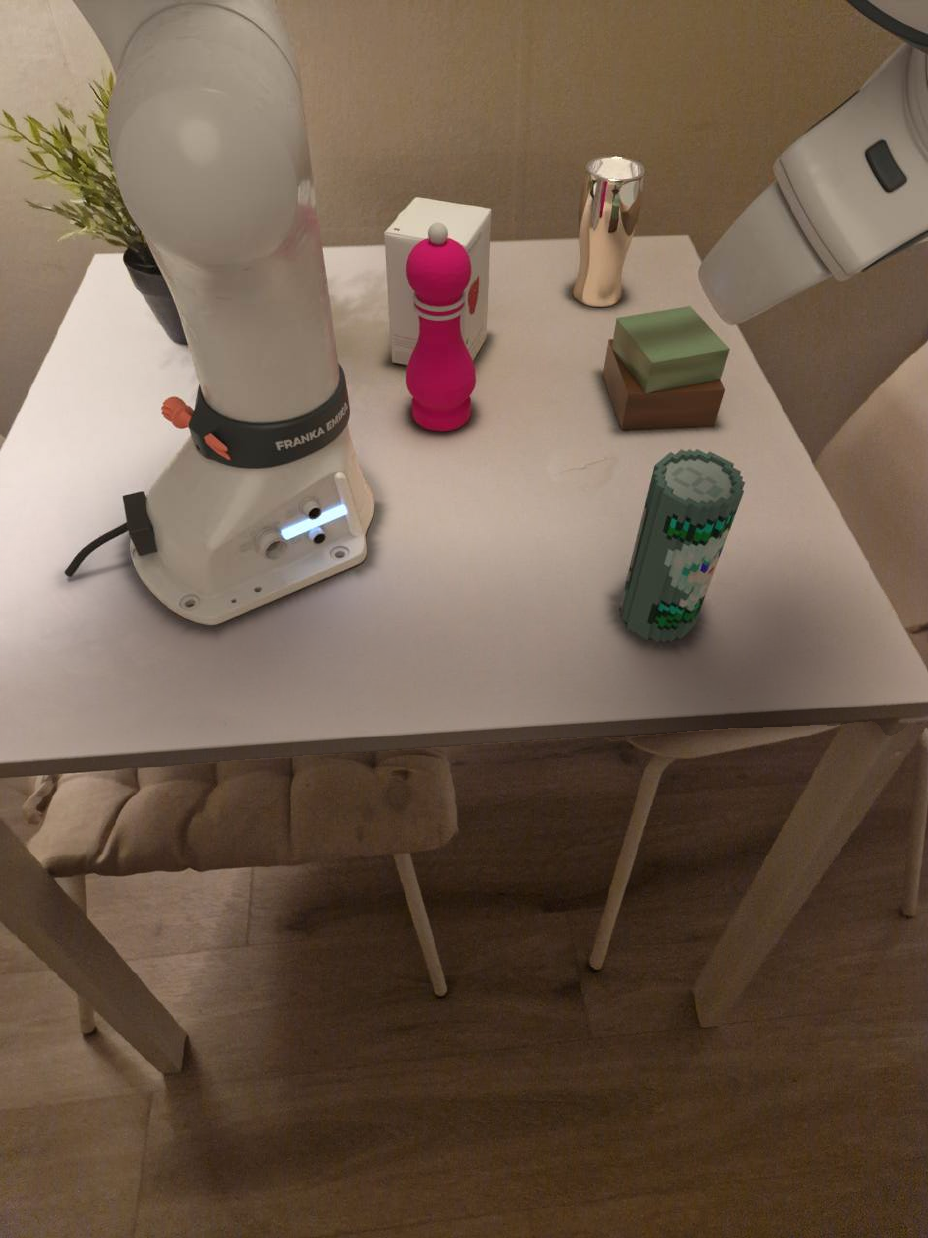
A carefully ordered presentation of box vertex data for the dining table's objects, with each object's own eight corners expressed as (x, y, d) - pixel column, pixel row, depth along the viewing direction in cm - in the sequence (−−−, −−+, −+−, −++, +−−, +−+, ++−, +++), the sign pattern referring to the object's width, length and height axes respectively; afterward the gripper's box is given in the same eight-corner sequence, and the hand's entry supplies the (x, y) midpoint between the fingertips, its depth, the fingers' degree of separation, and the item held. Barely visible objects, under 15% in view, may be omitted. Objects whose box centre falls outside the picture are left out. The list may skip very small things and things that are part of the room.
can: (667, 653, 65) (712, 520, 53) (607, 614, 67) (638, 478, 56) (707, 612, 68) (759, 476, 56) (648, 575, 70) (685, 438, 59)
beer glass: (571, 278, 103) (585, 153, 91) (624, 282, 102) (646, 157, 91) (567, 306, 99) (582, 178, 87) (624, 311, 98) (646, 182, 86)
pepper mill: (478, 395, 87) (482, 206, 71) (472, 437, 82) (475, 245, 67) (412, 391, 87) (402, 202, 72) (403, 432, 83) (390, 240, 67)
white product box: (464, 379, 89) (466, 246, 77) (390, 364, 91) (380, 231, 79) (489, 337, 94) (494, 206, 83) (418, 323, 96) (413, 193, 84)
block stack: (714, 425, 84) (735, 358, 78) (621, 430, 83) (634, 363, 77) (689, 370, 90) (706, 304, 84) (602, 374, 89) (613, 308, 83)
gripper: (1103, -51, 37) (900, 128, 51) (757, 164, 35) (643, 290, 48) (1167, 70, 37) (949, 215, 51) (830, 290, 35) (696, 379, 49)
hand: (798, 253), depth 50 cm, fingers open, 8 cm apart
